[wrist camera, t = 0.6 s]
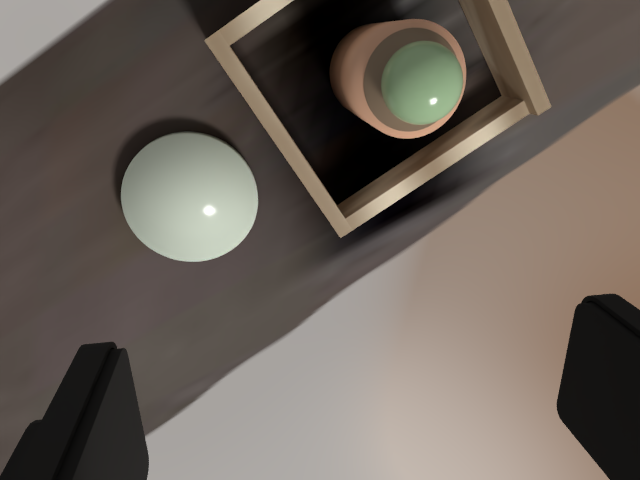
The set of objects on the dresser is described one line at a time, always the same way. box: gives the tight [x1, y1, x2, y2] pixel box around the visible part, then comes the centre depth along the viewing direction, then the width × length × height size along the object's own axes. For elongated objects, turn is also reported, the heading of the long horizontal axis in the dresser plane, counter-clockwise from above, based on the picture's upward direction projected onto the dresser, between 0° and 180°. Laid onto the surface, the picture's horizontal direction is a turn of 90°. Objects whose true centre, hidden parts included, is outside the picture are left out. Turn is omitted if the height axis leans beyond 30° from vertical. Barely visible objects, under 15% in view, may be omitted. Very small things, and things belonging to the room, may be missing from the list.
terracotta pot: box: [330, 19, 466, 139], centre depth 28 cm, size 6×6×12 cm
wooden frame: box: [204, 0, 551, 238], centre depth 32 cm, size 16×15×4 cm
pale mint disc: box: [121, 131, 258, 262], centre depth 34 cm, size 9×9×1 cm
